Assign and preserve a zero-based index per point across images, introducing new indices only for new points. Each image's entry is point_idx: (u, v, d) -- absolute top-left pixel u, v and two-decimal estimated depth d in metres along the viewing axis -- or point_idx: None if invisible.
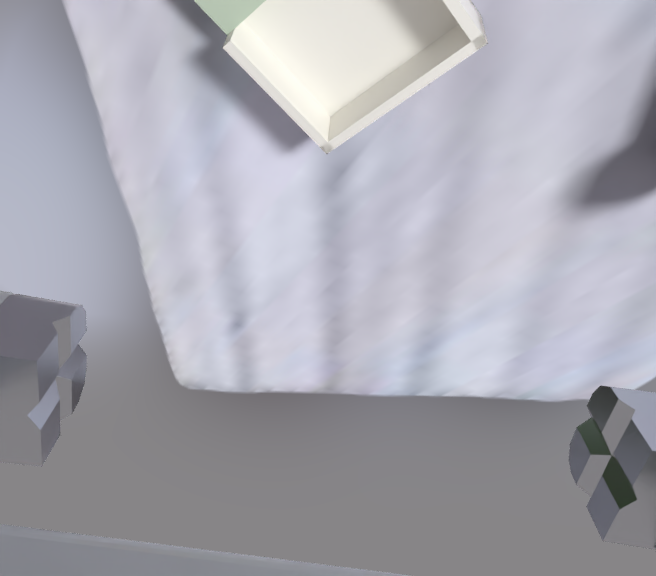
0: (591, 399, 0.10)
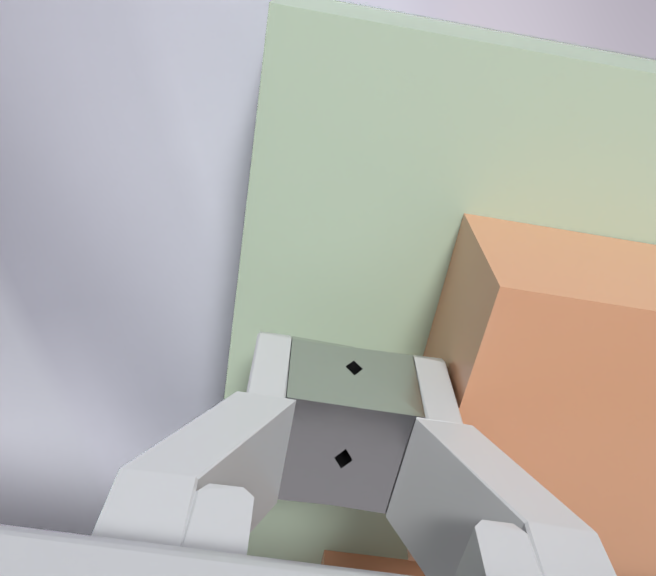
0: None
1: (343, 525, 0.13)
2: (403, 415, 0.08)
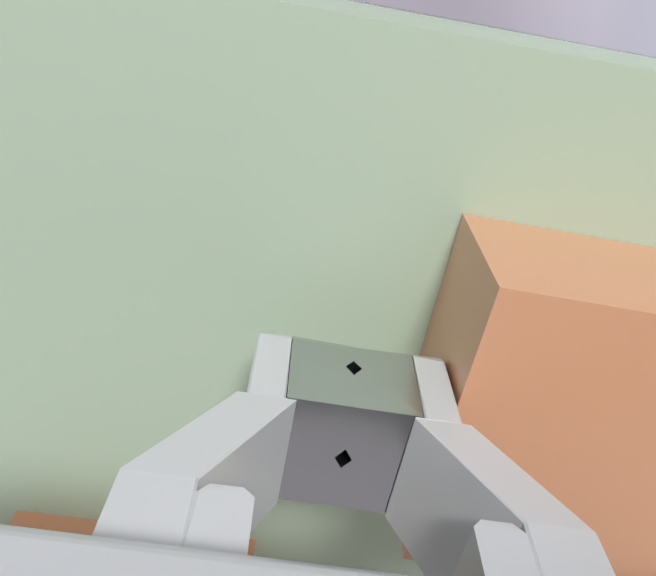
0: None
1: (28, 483, 0.13)
2: (402, 415, 0.08)
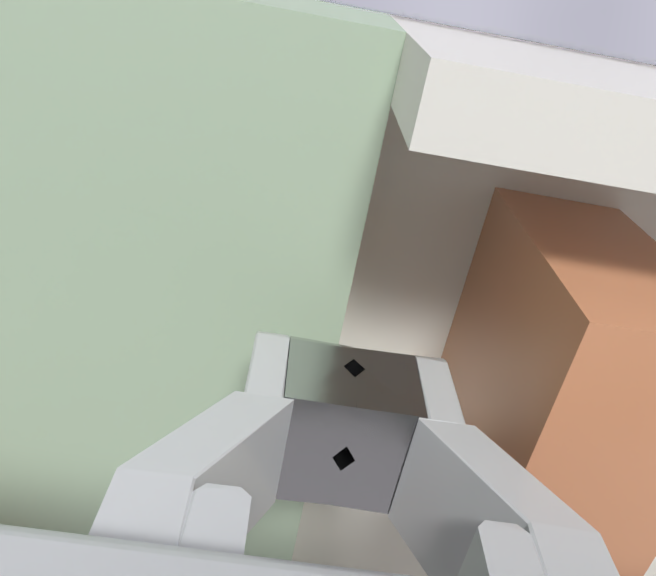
0: None
1: None
2: (406, 416, 0.08)
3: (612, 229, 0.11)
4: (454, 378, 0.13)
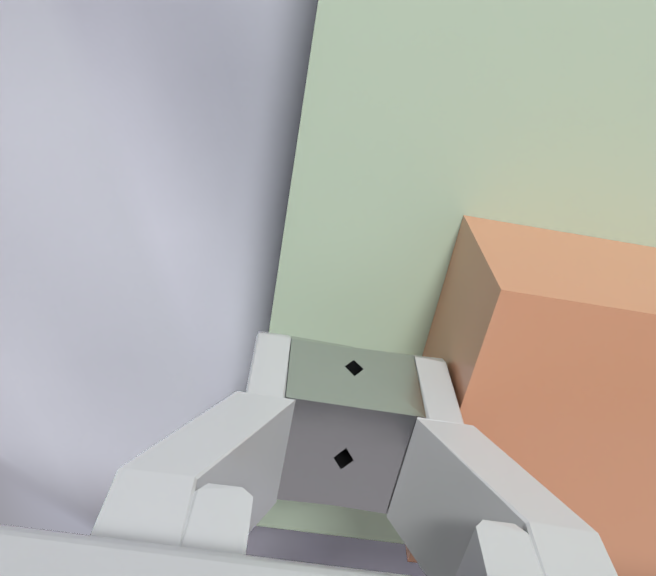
0: None
1: (477, 166, 0.10)
2: (404, 415, 0.08)
3: None
4: None
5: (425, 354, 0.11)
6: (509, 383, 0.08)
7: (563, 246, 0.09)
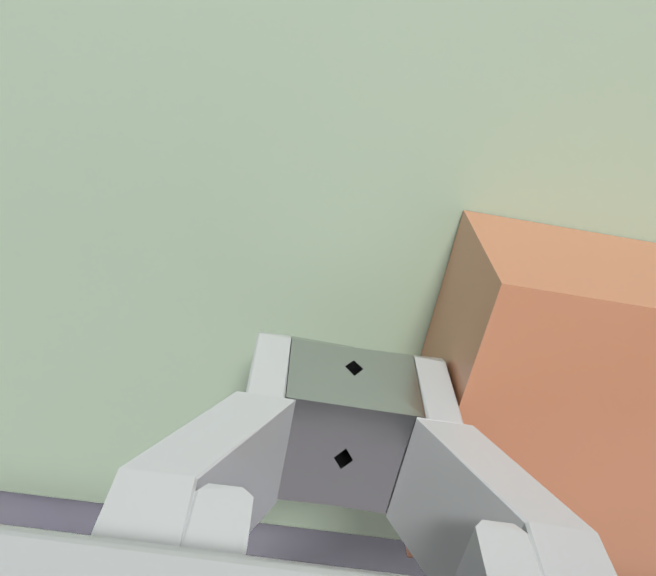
0: None
1: None
2: (404, 415, 0.08)
3: None
4: None
5: (425, 350, 0.11)
6: (510, 378, 0.08)
7: (564, 241, 0.09)
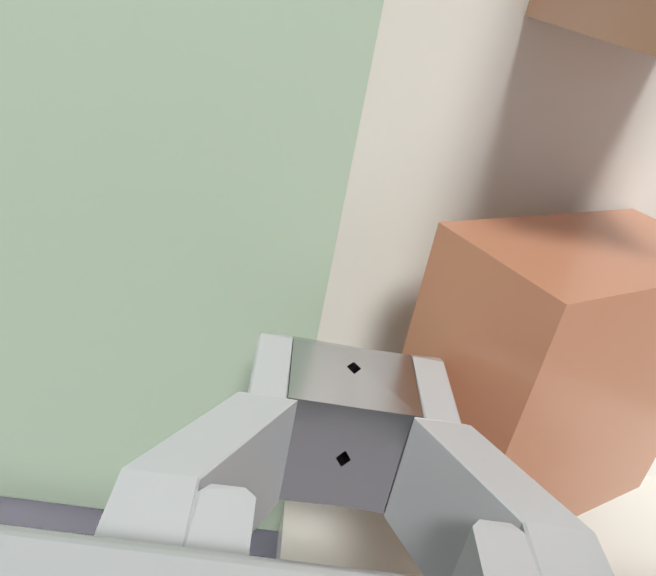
0: None
1: None
2: (401, 415, 0.08)
3: None
4: None
5: None
6: (557, 384, 0.09)
7: (533, 233, 0.10)
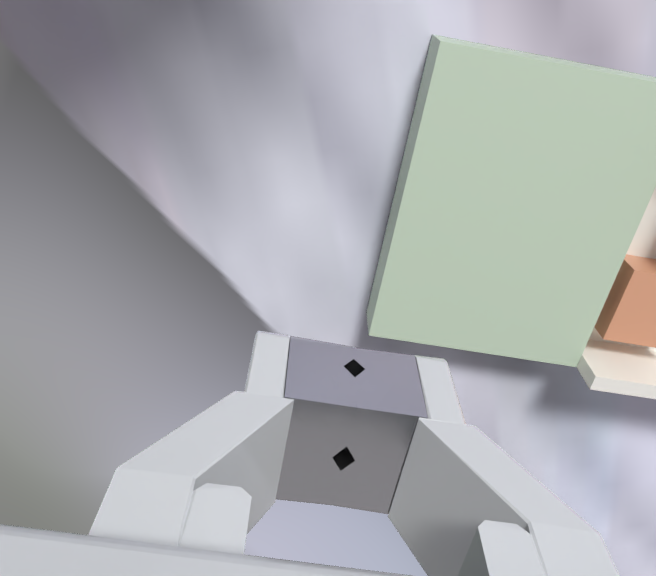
0: None
1: (443, 224, 0.37)
2: (406, 416, 0.08)
3: None
4: None
5: None
6: (633, 291, 0.38)
7: (643, 260, 0.40)
